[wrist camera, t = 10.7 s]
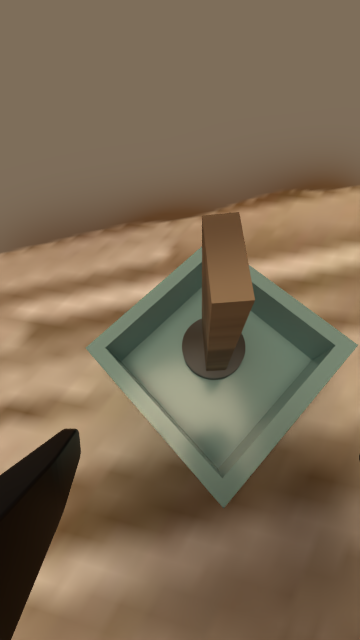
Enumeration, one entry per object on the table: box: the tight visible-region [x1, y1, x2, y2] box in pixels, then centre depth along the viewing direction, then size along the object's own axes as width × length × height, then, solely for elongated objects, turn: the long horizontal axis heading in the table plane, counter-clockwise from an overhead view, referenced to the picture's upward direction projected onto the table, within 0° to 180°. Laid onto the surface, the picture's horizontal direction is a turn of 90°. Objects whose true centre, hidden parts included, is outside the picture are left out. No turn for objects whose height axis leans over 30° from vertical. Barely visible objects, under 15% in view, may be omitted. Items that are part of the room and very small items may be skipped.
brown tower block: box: [182, 212, 255, 380], centre depth 16 cm, size 5×5×13 cm
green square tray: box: [86, 247, 358, 508], centre depth 20 cm, size 13×13×5 cm
